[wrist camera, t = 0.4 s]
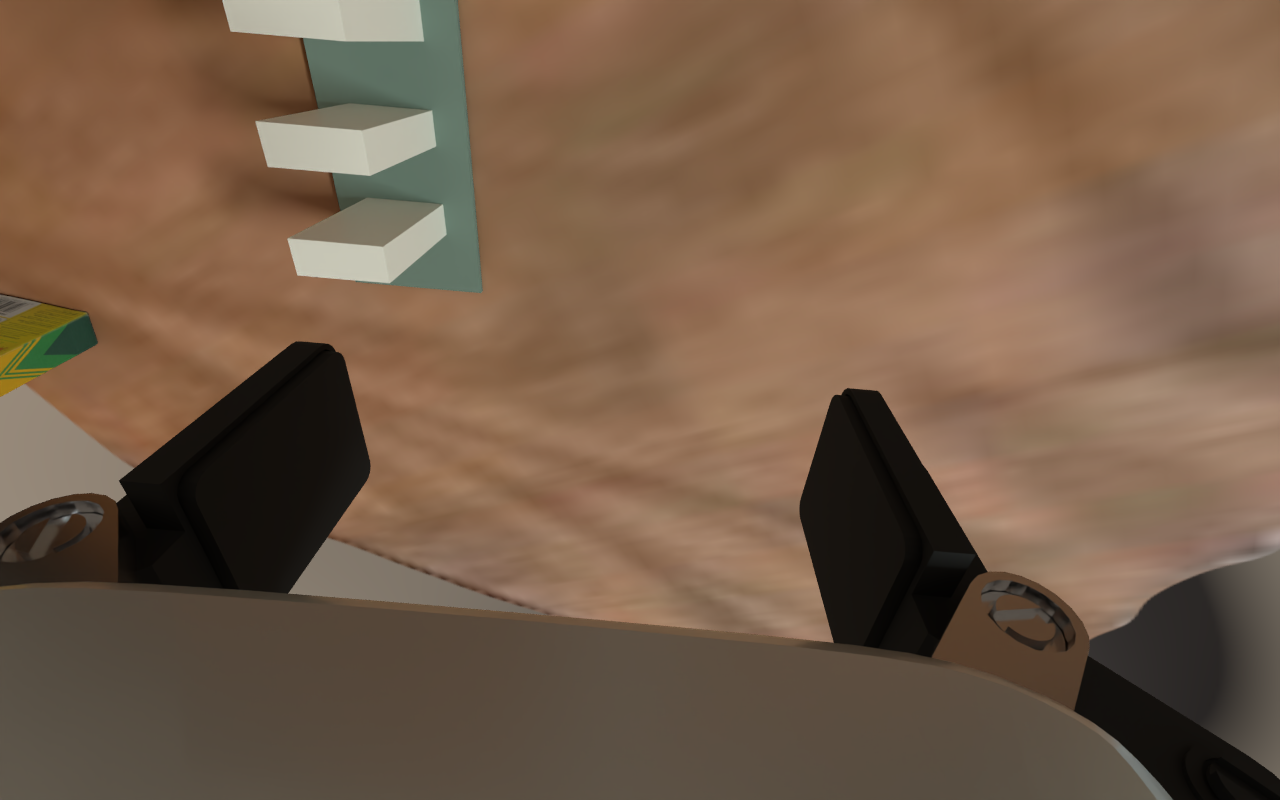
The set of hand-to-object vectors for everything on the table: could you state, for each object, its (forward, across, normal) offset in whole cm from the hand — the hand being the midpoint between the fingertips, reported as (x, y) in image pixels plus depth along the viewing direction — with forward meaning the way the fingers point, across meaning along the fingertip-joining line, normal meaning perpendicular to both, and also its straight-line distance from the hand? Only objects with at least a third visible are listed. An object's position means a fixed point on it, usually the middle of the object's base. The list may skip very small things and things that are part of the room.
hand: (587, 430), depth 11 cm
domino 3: (+28, +16, +4) cm, 33 cm away
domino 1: (+28, +16, -6) cm, 33 cm away
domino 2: (+28, +16, -1) cm, 32 cm away
